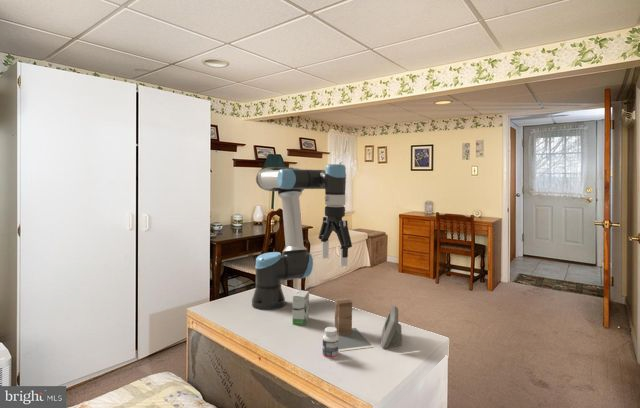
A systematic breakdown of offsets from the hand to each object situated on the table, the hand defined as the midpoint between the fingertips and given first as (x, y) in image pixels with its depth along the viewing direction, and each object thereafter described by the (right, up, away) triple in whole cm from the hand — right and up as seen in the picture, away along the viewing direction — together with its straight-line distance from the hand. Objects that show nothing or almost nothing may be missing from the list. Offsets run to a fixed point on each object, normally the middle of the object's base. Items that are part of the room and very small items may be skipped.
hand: (333, 262), depth 136 cm
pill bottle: (-2, -28, -18) cm, 33 cm away
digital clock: (+20, -27, -7) cm, 34 cm away
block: (+3, -26, -1) cm, 26 cm away
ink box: (-13, -26, +10) cm, 31 cm away
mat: (+5, -27, -7) cm, 28 cm away
